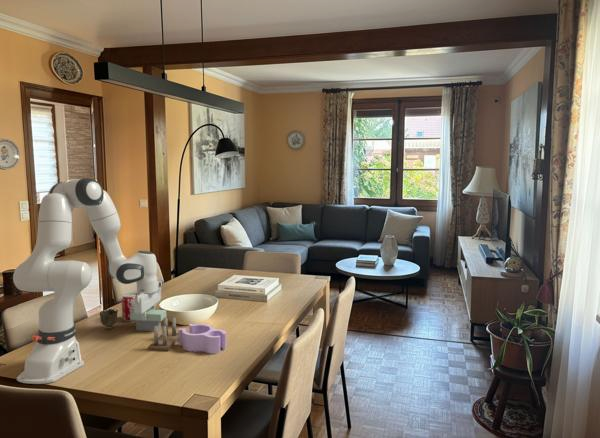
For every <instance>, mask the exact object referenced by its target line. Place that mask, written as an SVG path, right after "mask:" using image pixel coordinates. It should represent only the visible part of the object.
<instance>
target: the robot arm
mask: <svg viewBox="0 0 600 438" xmlns="http://www.w3.org/2000/svg"><path fill="white" fill-rule="evenodd" d="M74 208H75V209H79V208H83V209H84V210H85V212H86V214H87V217H88V220H89V222H90V225H91V226H92V229H93V230H94V232H95V234H96V235H97V236H98V238H99V240H100V242H101V244H102V246H103V249H104V251H105V255H106V256H107V257H106V258H107V272H108V275H109V276H110V277H111V278H113V279H115V280H116V281H117V282H119V283H121V284H123V285H129V284H133V283H136V293H137V294H136V297H135V299H134V313H135V314H141V316H142V320H143V321H146V320H147V316H146V311H147V310H148V309H151V310H156V305H157V304H158V303H159V302H161V299H162V285H163V282H162V281H158V276H157V273H158V264H157V263H158V262H157V257H156V255H155V253H153V252H152V251H149V250H138V251H136V253H135V254H133V255H132V256H130V257H129V258H127V257H126V256H125V255H124V253H123V251H122V249H121V245H120V243H119V240H118V233H119V231H120V230H121V227H122V224H121V219H120V216H119V213H118V211H117V208H116V206H115V204H114V202H113V200H112V198H111V196H110V195H109V193H108V192H107V191H106V190H104V189H103V187H102V185H101V184H100V183H99V181H98V180H96V179H95V178H91V177H84V178H77V179H76V178H73V179H68V180H67V179H66V180H64V181H60V182H57V183H55V184H54V185H53V186H52V187H50V190H49V192H48V194H46V195H44V196H43V197H42V199H41V202H40V206H39V211H38V217H37V219H38V220H37V231H36V242H35V245H34V248H33V250H32V252H31V254H30V255H29V256H28V258H26V260H24V261H23V262H22V263H20V264H19V265H18V266H17V267H16V268H15V270H14V272H13V274H12V275H13V276H12V280H13V284H14V286H15V287H16V288H17V289H18V290H19V291H25V292H30V293H31V292H32V293H41V292H42V293H43V292H44V293H45V292H54V297H53V298H52V299H50V300H48V301H46V302H44V303H43V304H42V305H40V307H39V309H38V322H39V329H38V332H37V335H36V334H34V335H33V334H32V337H31V341H32V342H36V344H35V345H34V347H33V348H32V350H31V352H30V353H29V354H28V356H27V358H26V359H25V362H24V368H23V369H24V370H23V371H22V372H21V373H20V374H19V375H18V376H17V377H16V381H18V382H19V383H22V384H28V385H29V384H32V385H43V384H50V383H54V382H56V381H58V380H60V379H62V378H63V377H65V376H67V375H69V374H70V373H72V372H73V371H76V370H77V369H79V368H81V367H83V366H84V365H85V362H84V360H83V359H82V356H81V350H80V349H81V348H80V343H79V342H78V340H77V338H76V331H77V330H76V328H77V327H76V324H75V323H74V306H75V301H76V299H77V297H78V296H79V294H80V293H81V292H82V291H83V290H84V289H86V288H87V287H88V286H89V284H90V283H91V281H92V277H93V271H92V269H91V266H90V265H89V264H88V262H85V261H80V260H74V259H73V260H72V259H71V260H55V257H56V255H57V254H58V253H60V252H62V251H64V250H66V249H67V248H69V247H70V245H71V243H72V237H73V235H72V234H73V233H72V232H73V214H72V213H73V210H74Z"/></svg>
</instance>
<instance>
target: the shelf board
mask: <svg viewBox="0 0 600 438" xmlns="http://www.w3.org/2000/svg"><path fill="white" fill-rule="evenodd" d="M146 316H147V320H146V321H161V322H162V321H164V318H165V317H167V310H166V309H155V310H151V309H148V310H147V311H146ZM130 320H134V321H136V320H142V316H141V314H135V313H134V311H133V312H131V313H130Z"/></svg>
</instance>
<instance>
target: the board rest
mask: <svg viewBox="0 0 600 438" xmlns="http://www.w3.org/2000/svg"><path fill="white" fill-rule="evenodd" d="M135 324H136V326H135V327H136V331H142V332H143V331H145V332H146V331H147V332H148V331H149V332H154V326H158V332H160V331H161V330H162V321H143V320H135Z"/></svg>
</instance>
